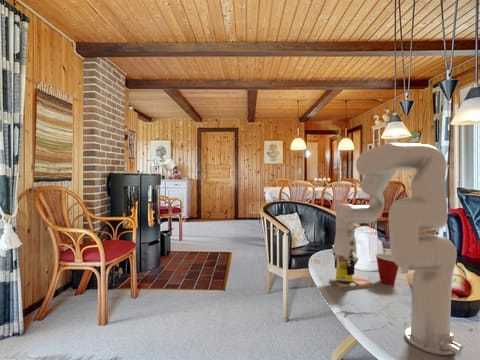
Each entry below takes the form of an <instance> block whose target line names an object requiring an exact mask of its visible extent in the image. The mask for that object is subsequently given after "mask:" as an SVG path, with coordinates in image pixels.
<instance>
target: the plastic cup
mask: <svg viewBox="0 0 480 360" xmlns="http://www.w3.org/2000/svg"><path fill="white" fill-rule="evenodd" d="M375 257H376V263H377V268H378V270H377V271H378V275H379V280H380V282H381V283H383V284H385V285H394V284H395V282H396V279H397V275H398V270H399V267H398V266H397V265H396V264H395V263H394V261H393V259H392V256H391V254H388V253H375Z"/></svg>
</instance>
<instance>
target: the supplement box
mask: <svg viewBox="0 0 480 360" xmlns="http://www.w3.org/2000/svg"><path fill="white" fill-rule="evenodd" d="M349 258H351V257H349ZM351 261H352V260H350V262H351ZM347 266H348V263H347V260H346V259H344V258H343V257H341V256H339V255H338V256H337V268H335V270H336V272H335V273H336V274H335V279H336V278H337V280H338V282H343V283H352V277H353V275H347Z"/></svg>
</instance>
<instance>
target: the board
mask: <svg viewBox="0 0 480 360" xmlns="http://www.w3.org/2000/svg"><path fill="white" fill-rule="evenodd" d="M328 282H329V283H330V284H332V285H334V286H335V287H336V288H337V289H339V290H341V291H343V292H344V291H352V290H361V289H368V288H375V283H373V282H371V281H369V280H368V279H366V278H364V277H362V276H359V275H356V276H352V283H343V282H338V280H337V278H336V277H335V278H331V279H330V278H329V280H328Z"/></svg>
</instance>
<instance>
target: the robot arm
mask: <svg viewBox="0 0 480 360" xmlns="http://www.w3.org/2000/svg"><path fill="white" fill-rule="evenodd" d="M355 168H356V171H357V173H358V174H360V175H362V176H363V177H362V180H361V181H360V183H359V187H360V189H361V191H362V192H363V193H364V194H366V195H368V196H369V197H371V199H370V201H369V202H368V203H367V204H352V203H345V202H343V203H338V204H337V205H336V207H335V235H334V242H333V243H334V244H333V245H334V246H333V247H332V249H331V250H332V254H333V258H334V269H336V268H337V256H338V255H339V256H341V257H343V258H344V259H346V260H347V263H348V266H347V275H352V276H353V275H355V266H356V265H357V263H358V261H359V257H358V255H357V253H358V252H357V251H358V250H357V241H356V237H355V225H356V224H369V223H370V224H371V223H374V222H375V221H376V220H377V219H379V217H380V215H381V214H382V213H383V211H384V208H385V196H384V191H385V190H386V188H387V187H388V185H389V183H390V182H391V180H392V178H393V177H394V176H395V174H396V172H397V171H415V173H414V175H413V178H412V180H411V186H410V188H411V196H410V197H401V198H399V199H398V198H397V200H395V201H393V203H392V204H391V206H390V207H389V210H388V233H389V234H388V236H389V251H390V255H391V256H392V259H393V261H394V263H395V264H396V265H397V266H398V268H399V269H401V270H405V271H414V272H413V274H412V280H411V308H410V309H411V310H410V311H411V312H410V315H411V316H410V327H408V328H406V329H405V330H404V337H405V339H406V340H407V342H409V343H410V344H411V345H412V346H413V347H416V348H418V349H420V350H421V351H425V352H427V353H430V354H434V355H440V356H450V355H455V356H457V357H459V356H460V355H461V354H462V351H463V349H464V346H463V345H461V344H460V343H458V342H456V341H455V338H454V337H455V334H453V333H452V332H451V317H452V316H451V311H452V309H451V308H452V306H451V305H452V283H453V275H454V271H455V266H456V263H457V260H458V259H457V257H458V256H457V255H458V254H457V253H458V252H457V248H456V246H455V245H454V243H453V242H452V241H451V240H450V239H449V238H447V236H444V235H440V234H431V233H430V234H420V233H419V232H421V231H434V230H439V229H442V228H444V227H445V226H446V225H447V223H448V217H449V215H448V203H447V199H448V198H447V189H446V175H447V174H446V172H447V161H446V157H445V155H444V153H443V151H441V150H440V149H439V148H438V147H436V146H433V145H430V144H423V143H422V144H421V143H410V142H409V143H406V142H405V143H403V142H402V143H401V142H389V143H383V144H381V145H378V146H375V147H372V148H369V149H367V150H365V151H363V152H362V153H361V154H359V155H358V157H357V160H356V162H355ZM349 257H351V258H349ZM350 260H352V261H351V262H350Z"/></svg>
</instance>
